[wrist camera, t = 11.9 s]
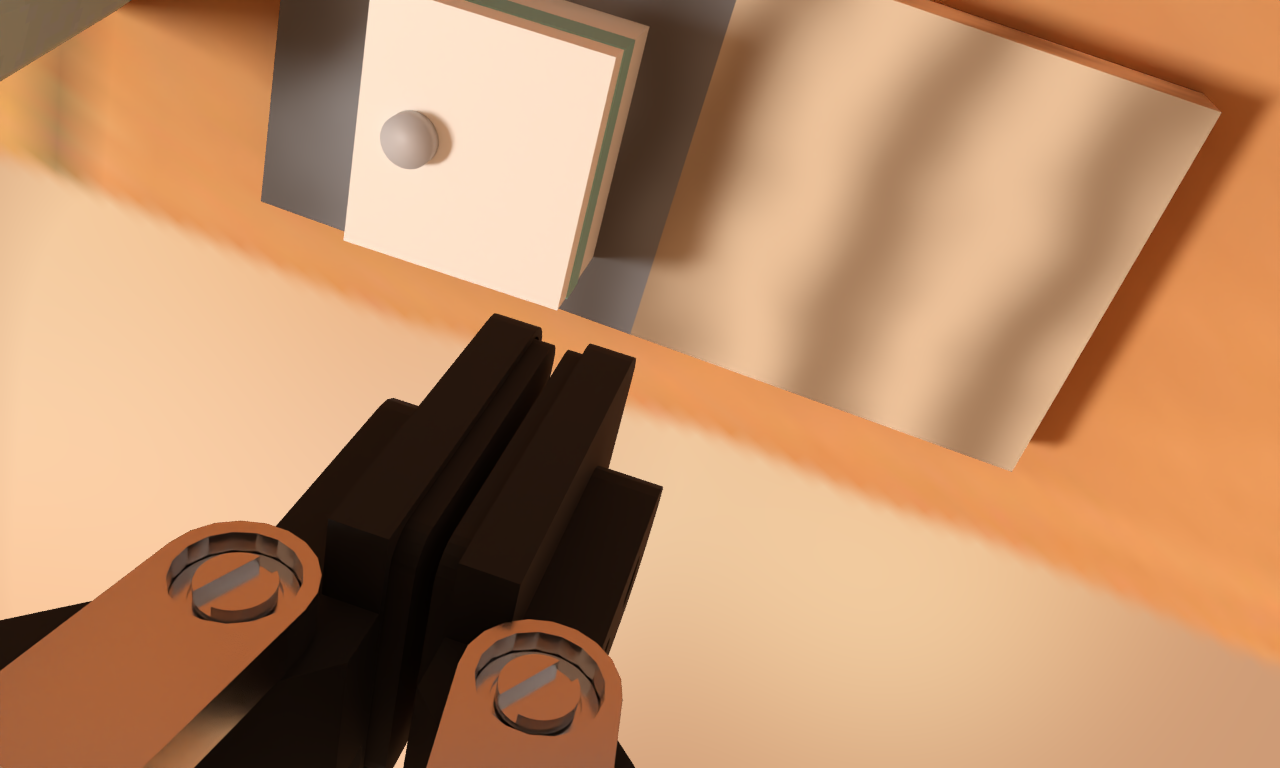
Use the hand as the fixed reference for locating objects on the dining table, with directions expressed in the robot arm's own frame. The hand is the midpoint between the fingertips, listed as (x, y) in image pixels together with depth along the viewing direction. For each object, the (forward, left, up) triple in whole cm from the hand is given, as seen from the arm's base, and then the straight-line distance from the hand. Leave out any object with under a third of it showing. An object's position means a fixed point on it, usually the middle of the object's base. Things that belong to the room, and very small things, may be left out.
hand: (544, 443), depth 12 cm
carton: (+8, +6, -28) cm, 29 cm away
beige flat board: (+2, +6, -30) cm, 31 cm away
